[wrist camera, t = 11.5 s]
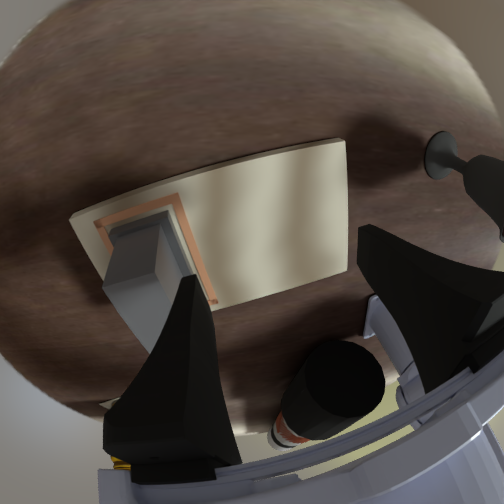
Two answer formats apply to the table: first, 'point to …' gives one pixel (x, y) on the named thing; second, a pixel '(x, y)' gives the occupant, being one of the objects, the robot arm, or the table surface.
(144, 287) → the block
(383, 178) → the table surface
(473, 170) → the sundae
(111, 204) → the board
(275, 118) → the table surface
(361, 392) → the striped banded cylinder
